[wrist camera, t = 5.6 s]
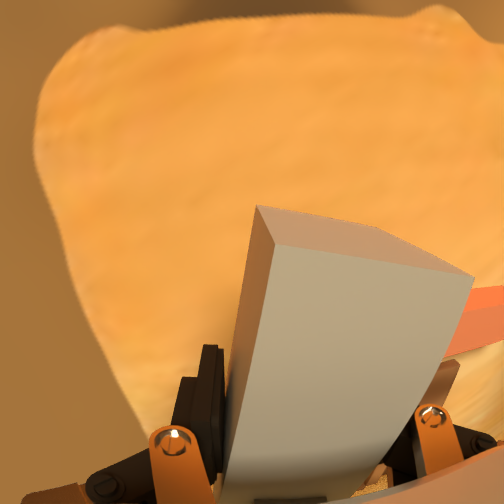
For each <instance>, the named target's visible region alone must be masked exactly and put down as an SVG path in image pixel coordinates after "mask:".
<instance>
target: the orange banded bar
mask: <svg viewBox="0 0 504 504" xmlns="http://www.w3.org/2000/svg"><path fill="white" fill-rule="evenodd" d="M501 340H504V286H502V285H501V286H492V287H484V288H475V289H471V291H470V294H469V297H468V300H467V302H466V305H465V308H464V310H463V313H462V316H461V318H460V321H459V323H458V326H457V328H456V330H455V333H454V335H453V337H452V340H451V342H450V344H449V346H448V349H447V351H446V353H445V355H444V357H447V356H451V355H455V354H458V353H462V352H466V351H469V350H473V349H476V348H479V347H483V346H486V345H489V344H492V343H495V342H498V341H501Z"/></svg>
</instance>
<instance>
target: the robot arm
mask: <svg viewBox="0 0 504 504" xmlns="http://www.w3.org/2000/svg"><path fill="white" fill-rule="evenodd" d="M224 416H225V378H224V349H218V345H207V344H204V345H203V349H202V354H201V360H200V365H199V371H198V376H197V377H182V379H181V382H180V387H179V391H178V395H177V399H176V403H175V408H174V412H173V416H172V421H171V425H169V426H165V427H161V428H159V429H157V430H156V431H155V432H153V433H152V435H151V436H150V438H149V448H148V449H145V450H143V451H141V452H139V453H137V454H135V455H133V456H131V457H129V458H127V459H125V460H122V461H120V462H118V463H116V464H114V465H111V466H109V467H107V468H104V469H102V470H100V471H97V472H96V473H94V474H92V475H91V476H90V477H89V478H88V479H87V481H86V483H84V484H80V485H78V483H77V482H76V483H72V484H69V485H65V486H61V487H56V488H52V489H47V490H43V491H38V492H32V493H29V494H27V495H26V496H25V497H24V498H23V499H22V501H21V504H216V502H215V499H214V496H213V493H212V490H211V487H210V486H211V485H212V484H214V483H215V481H217V473H222V471H223V442H224ZM383 463H384V465H386V466H387V482H388V489H384V490H381V491H377V492H373V493H369V494H365V495H361V496H357V497H352V498H348V499H343V500H337V501H332V502H326V503H320V504H504V441H501V440H498V441H497V443H496V441H495V439H494V438H493V437H492V436H490V435H488V434H486V433H482V432H478V431H475V430H471V429H468V428H464V427H461V426H457V425H454V424H452V421H451V418H450V415H449V413H448V412H447V411H446V410H445V409H444V408H443V407H441V406H439V405H435V404H424V405H422V406H420V405H419V404H418V406H417V408H416V409H415V411H414V412H413V414H412V416H411V417H410V419H409V420H408V422H407V424H406V425H405V427H404V428H403V430H402V431H401V433H400V434H399V436H398V437H397V439H396V440H395V442H394V443H393V444H392V446H391V447H390V449H389V450H388V451H387V453H386V454H385V455H384V457H383V458H382V459H381V461H380V462H379V463H378V465H379V464H383Z"/></svg>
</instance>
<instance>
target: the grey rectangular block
mask: <svg viewBox="0 0 504 504" xmlns="http://www.w3.org/2000/svg"><path fill="white" fill-rule="evenodd" d="M474 279H475V277H473V276H472V275H470V274H468V273H466V272H464V271H462V270H461V269H459V268H457V267H455V266H453V265H451V264H449V263H447V262H446V261H444V260H442V259H440V258H438V257H436V256H434V255H432V254H430V253H428V252H426V251H424V250H422V249H420V248H418V247H416V246H414V245H412V244H410V243H408V242H406V241H404V240H402V239H400V238H398V237H396V236H394V235H392V234H389V233H387V232H385V231H383V230H381V229H379V228H377V227H372V226H368V225H363V224H358V223H353V222H348V221H343V220H338V219H333V218H328V217H323V216H317V215H312V214H307V213H301V212H296V211H290V210H285V209H279V208H273V207H267V206H261V205H256V208H255V214H254V220H253V226H252V232H251V238H250V243H249V249H248V255H247V261H246V267H245V273H244V279H243V284H242V290H241V296H240V302H239V308H238V314H237V320H236V326H235V332H234V338H233V344H232V350H231V356H230V362H229V368H228V374H227V380H226V386H225V416H224V442H223V471H222V473H217V481H215V483H214V489H213V496H214V499H215V502H216V504H320V503H326V502H332V501H337V500H343V499H348V498H350V497H351V496H352V495H353V494H354V493H355V491H356V490H357V489H358V488H359V487H360V486H361V484H362V483H363V482H364V481H365V480H366V479H367V477H368V476H369V475H370V474H371V472H372V471H373V470H374V469H375V467H376V466H377V465H378V463H379V462H380V461H381V459H382V458H383V457H384V455H385V454H386V453H387V451H388V450H389V449H390V447H391V446H392V444H393V443H394V442H395V440H396V439H397V437H398V436H399V434H400V433H401V431H402V430H403V428H404V427H405V425H406V424H407V422H408V420H409V419H410V417H411V416H412V414H413V412H414V411H415V409H416V408H417V406H418V404H419V402H420V401H421V399H422V397H423V396H424V394H425V392H426V390H427V388H428V387H429V385H430V383H431V381H432V379H433V377H434V375H435V373H436V371H437V369H438V367H439V365H440V363H441V361H442V359H443V357H444V355H445V353H446V351H447V349H448V346H449V344H450V342H451V340H452V337H453V335H454V333H455V330H456V328H457V326H458V323H459V321H460V318H461V316H462V313H463V310H464V308H465V305H466V302H467V300H468V297H469V294H470V291H471V288H472V285H473V282H474Z"/></svg>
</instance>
